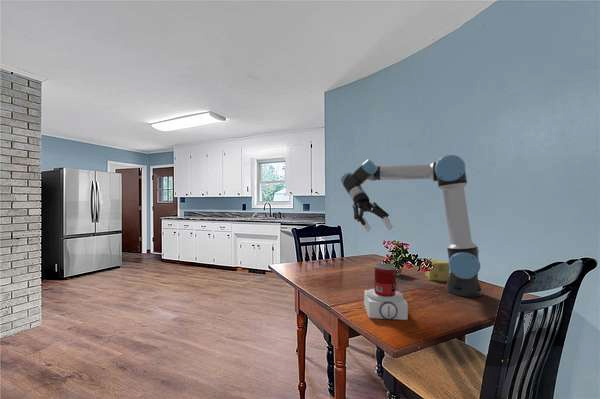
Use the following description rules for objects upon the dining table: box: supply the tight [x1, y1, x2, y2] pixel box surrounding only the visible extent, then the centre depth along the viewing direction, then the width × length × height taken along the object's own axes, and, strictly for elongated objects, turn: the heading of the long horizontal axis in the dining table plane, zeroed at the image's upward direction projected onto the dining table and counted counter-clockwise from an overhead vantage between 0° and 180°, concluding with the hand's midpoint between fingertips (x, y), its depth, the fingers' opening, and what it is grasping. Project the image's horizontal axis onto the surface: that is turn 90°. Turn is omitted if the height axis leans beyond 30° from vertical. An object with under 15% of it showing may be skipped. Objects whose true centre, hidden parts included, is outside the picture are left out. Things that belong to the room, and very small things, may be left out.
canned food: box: [374, 263, 397, 297], centre depth 116 cm, size 8×8×11 cm
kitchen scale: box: [363, 288, 409, 321], centre depth 115 cm, size 14×15×7 cm
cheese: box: [424, 258, 450, 282], centre depth 166 cm, size 10×11×10 cm
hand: (380, 229), depth 136 cm, fingers open, 13 cm apart
